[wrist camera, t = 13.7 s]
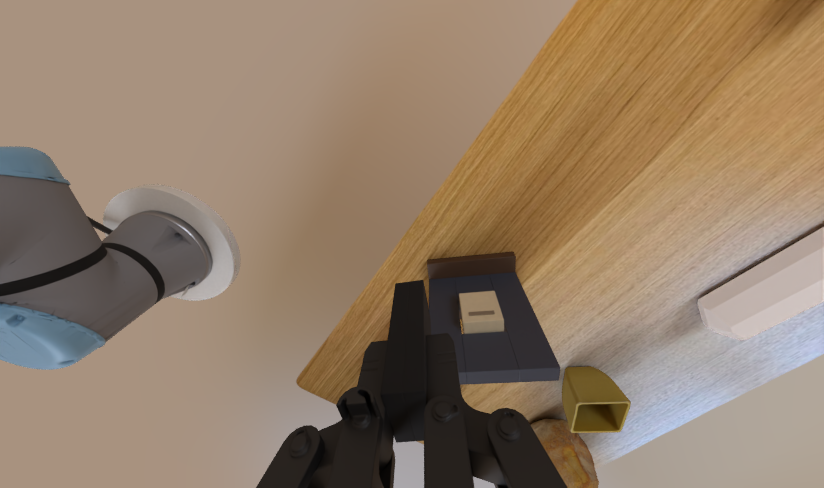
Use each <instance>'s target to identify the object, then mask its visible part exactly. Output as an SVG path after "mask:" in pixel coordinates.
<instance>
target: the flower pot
mask: <svg viewBox="0 0 824 488" xmlns="http://www.w3.org/2000/svg"><path fill="white" fill-rule="evenodd" d="M562 402H563V407H564V411H565V414H566V418H567V421H568V425H569V428H570V431H571V433H603V432H620V431H621V430H622V428H623V425H624V422H625V420H626V416H627V414H628V411H629V408H630V404H631V402H630V401H629V400H628V398H627V397H626V396H625V395H624V393H623V392H622V391H621V390H620V389H619V387H618V386H617V385H616V384H615V383H614V381H613V380H612V379H611V378H610V377H608V376H607V375H606V374H605V373H603V372H602V371H600V370H598V369H596V368H594V367H591V366H587V367H567V368H566V369H565V374H564V380H563V386H562Z"/></svg>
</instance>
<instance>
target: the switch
mask: <svg viewBox="0 0 824 488" xmlns="http://www.w3.org/2000/svg"><path fill="white" fill-rule="evenodd" d="M459 300H460V309H461V316H462V324H463V331H464V334H473V333H489V332H504V319H503V315H502V312H501V309H500V306H499V303H498V300H497V297H496V294H495V291H485V292H472V293H460V294H459Z"/></svg>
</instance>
